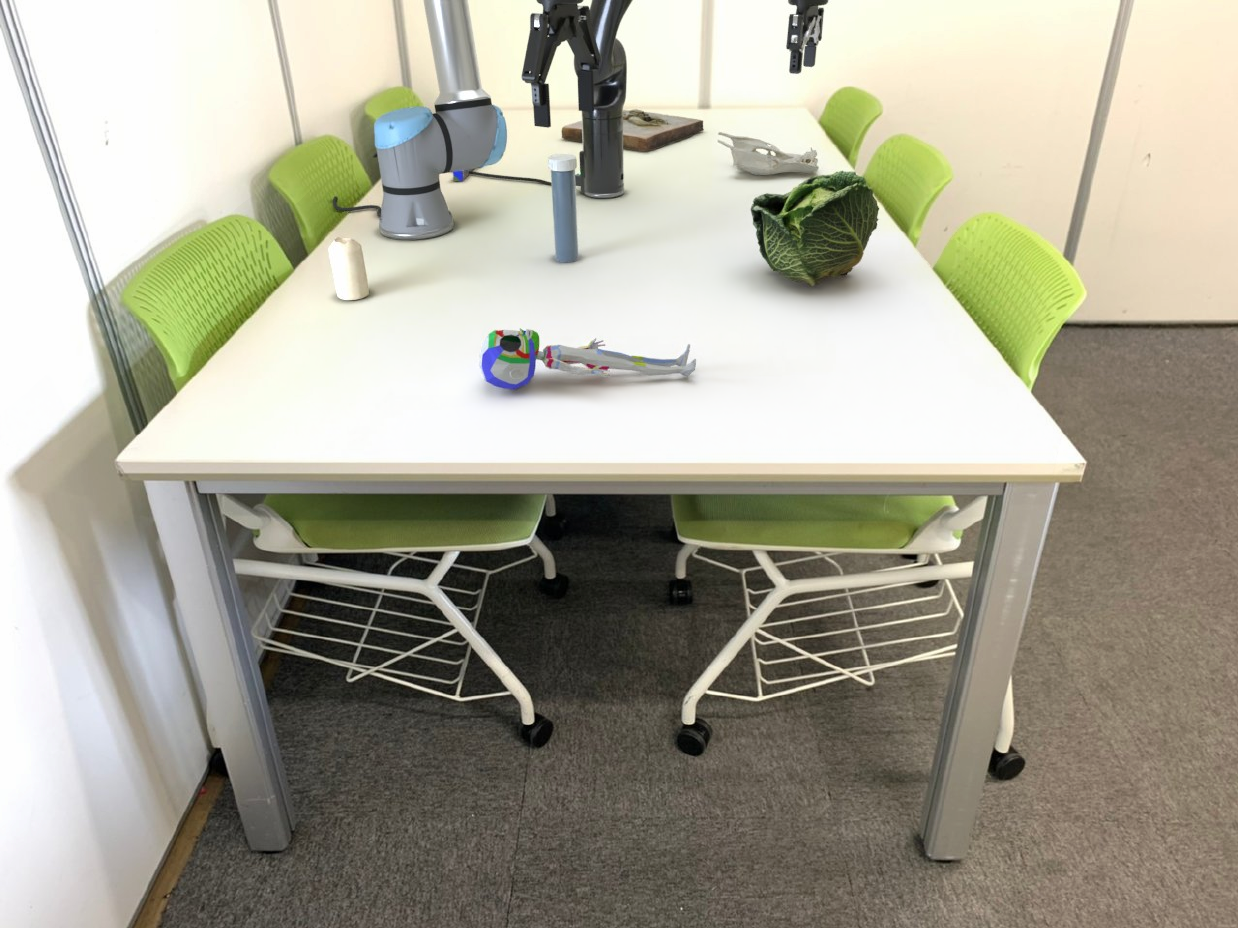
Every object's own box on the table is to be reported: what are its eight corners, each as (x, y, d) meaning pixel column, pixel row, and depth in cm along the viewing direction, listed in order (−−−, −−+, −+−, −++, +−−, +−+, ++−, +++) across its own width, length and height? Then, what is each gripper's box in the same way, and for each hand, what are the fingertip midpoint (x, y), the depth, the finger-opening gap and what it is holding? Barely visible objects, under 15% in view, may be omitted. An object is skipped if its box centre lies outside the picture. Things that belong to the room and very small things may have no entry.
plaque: (647, 125, 237) (559, 112, 252) (647, 153, 241) (560, 139, 256) (706, 107, 258) (622, 97, 273) (705, 133, 262) (622, 121, 277)
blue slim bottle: (569, 253, 174) (564, 155, 164) (583, 258, 172) (579, 159, 162) (551, 258, 172) (545, 159, 162) (564, 264, 169) (559, 164, 159)
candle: (375, 290, 158) (366, 235, 153) (358, 302, 154) (348, 245, 149) (348, 287, 160) (338, 232, 155) (330, 298, 156) (319, 242, 150)
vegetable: (776, 302, 169) (727, 209, 161) (858, 246, 170) (814, 150, 162) (827, 317, 151) (775, 212, 143) (918, 253, 152) (872, 146, 144)
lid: (565, 163, 166) (565, 152, 165) (582, 168, 162) (582, 157, 161) (543, 168, 163) (542, 157, 162) (559, 173, 160) (559, 162, 159)
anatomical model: (719, 128, 226) (819, 127, 222) (718, 166, 231) (817, 165, 227) (715, 142, 213) (822, 141, 210) (715, 181, 218) (819, 181, 215)
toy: (701, 358, 123) (480, 340, 118) (690, 412, 127) (477, 397, 122) (689, 328, 131) (482, 310, 127) (679, 379, 136) (479, 364, 131)
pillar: (481, 152, 235) (461, 172, 218) (482, 161, 236) (462, 181, 219) (473, 152, 235) (452, 172, 218) (474, 161, 236) (453, 181, 220)
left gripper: (533, -18, 128) (542, 135, 140) (619, -30, 147) (621, 107, 158) (491, -20, 132) (503, 131, 143) (580, -31, 150) (585, 103, 161)
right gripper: (802, -27, 174) (795, 63, 182) (778, -22, 163) (771, 74, 172) (840, -26, 171) (831, 66, 179) (818, -21, 160) (809, 77, 169)
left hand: (565, 118), depth 151 cm, fingers open, 13 cm apart
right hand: (802, 70), depth 176 cm, fingers open, 8 cm apart
